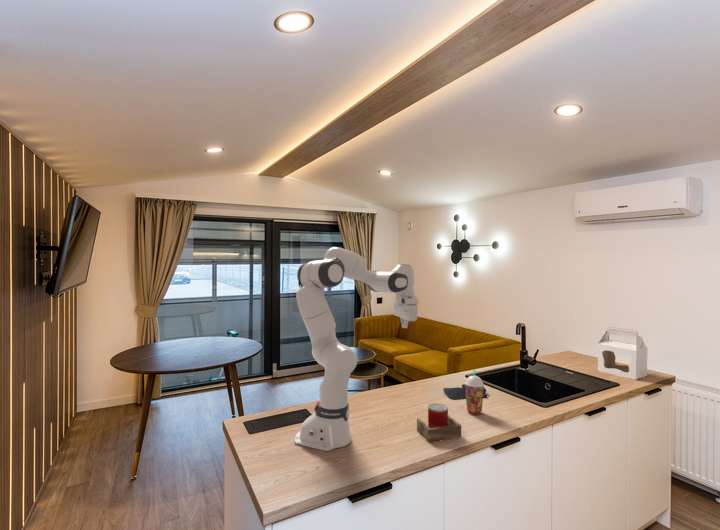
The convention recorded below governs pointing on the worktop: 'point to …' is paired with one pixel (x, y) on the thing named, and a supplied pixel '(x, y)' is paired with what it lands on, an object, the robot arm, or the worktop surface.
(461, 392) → the dark slate chunk
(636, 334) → the gable box
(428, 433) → the holder
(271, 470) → the worktop surface
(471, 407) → the smoothie
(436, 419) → the canned food
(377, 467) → the worktop surface
